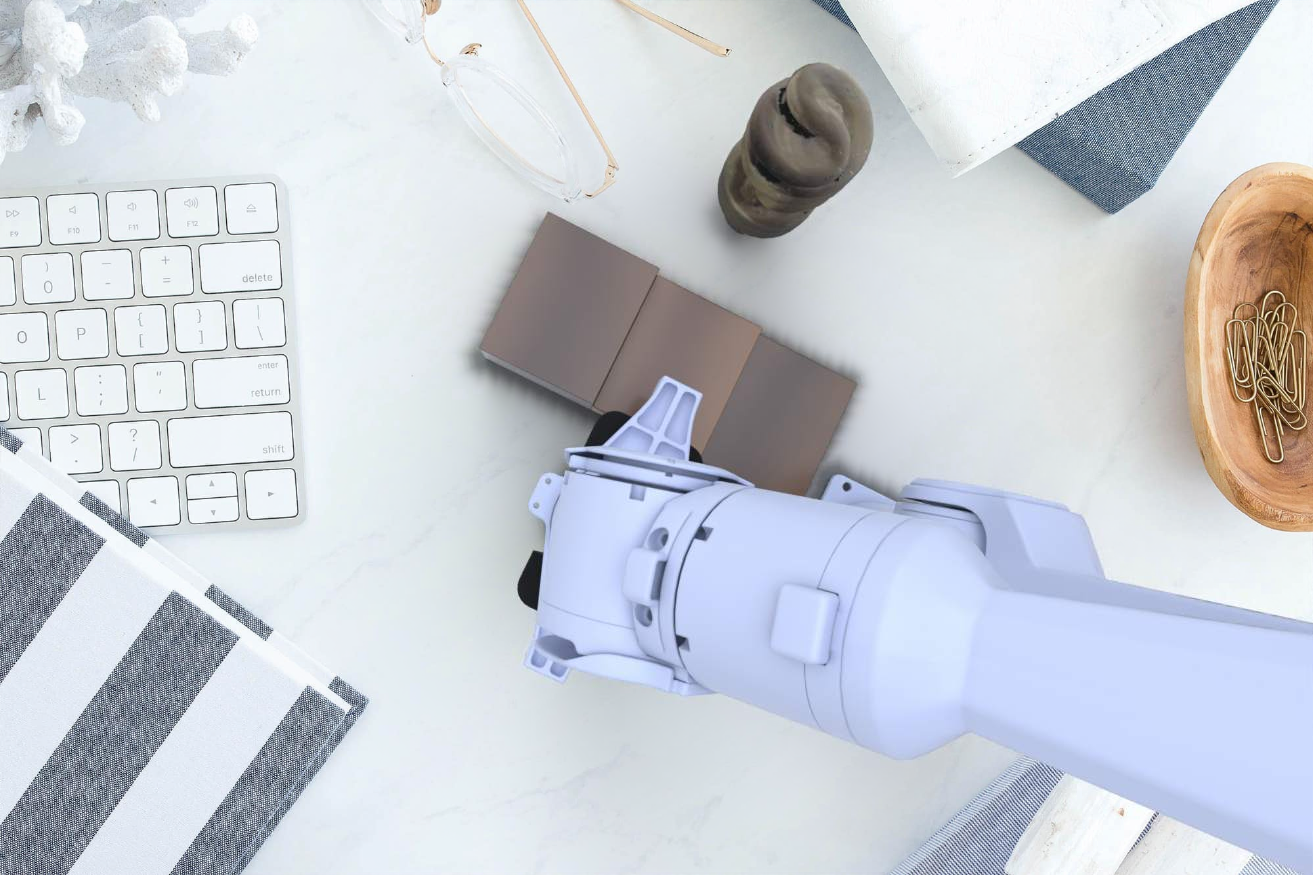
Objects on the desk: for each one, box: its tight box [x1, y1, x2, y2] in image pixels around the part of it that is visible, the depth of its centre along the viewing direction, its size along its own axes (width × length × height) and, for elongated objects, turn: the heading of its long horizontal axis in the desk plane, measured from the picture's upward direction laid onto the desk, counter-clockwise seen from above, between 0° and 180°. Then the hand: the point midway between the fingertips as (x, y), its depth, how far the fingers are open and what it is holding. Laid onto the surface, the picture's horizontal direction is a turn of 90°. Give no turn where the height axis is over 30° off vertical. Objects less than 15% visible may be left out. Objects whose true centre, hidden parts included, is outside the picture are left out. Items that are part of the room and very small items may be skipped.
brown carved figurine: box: [717, 61, 875, 240], centre depth 46 cm, size 6×6×15 cm
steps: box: [478, 211, 858, 497], centre depth 50 cm, size 20×8×4 cm, turn 64°
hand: (603, 515), depth 50 cm, fingers closed on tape, 5 cm apart
